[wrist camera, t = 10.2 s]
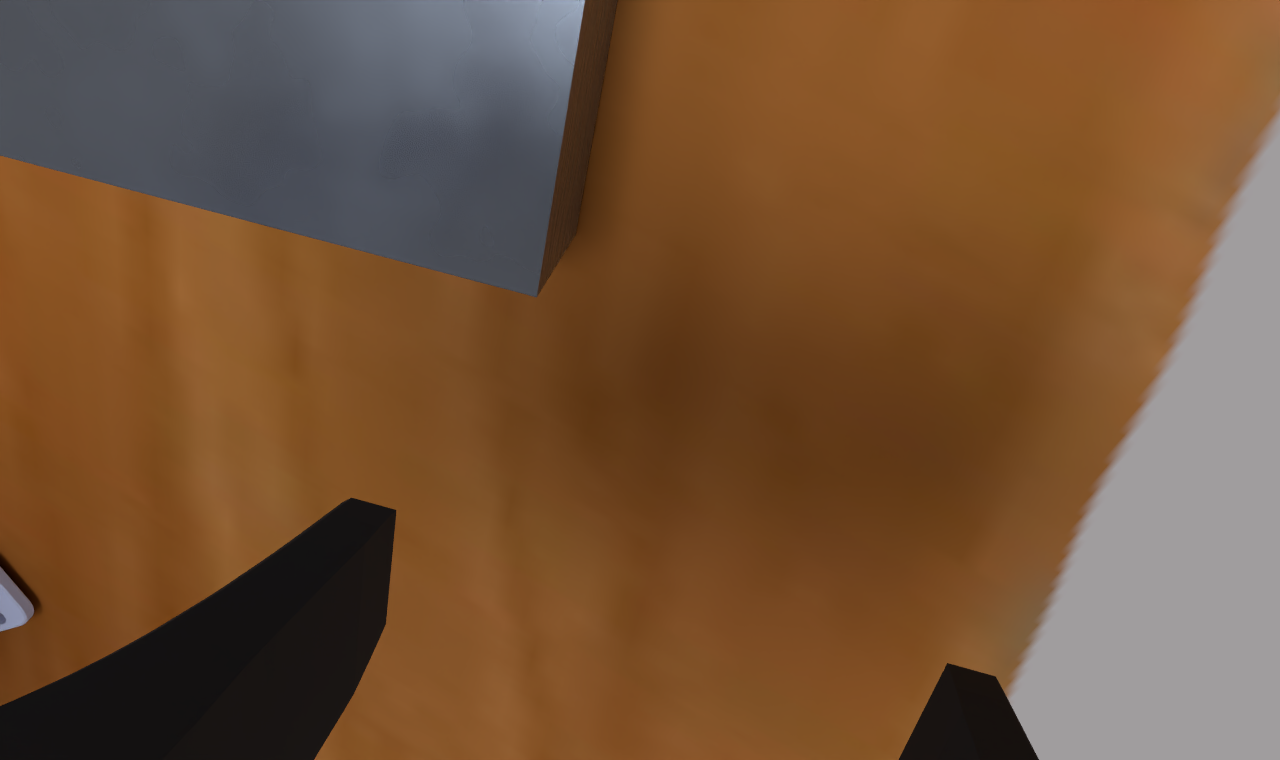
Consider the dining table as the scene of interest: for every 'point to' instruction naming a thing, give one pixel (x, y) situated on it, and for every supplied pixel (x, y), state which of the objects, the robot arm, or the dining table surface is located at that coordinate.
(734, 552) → the dining table surface
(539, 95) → the bore block
